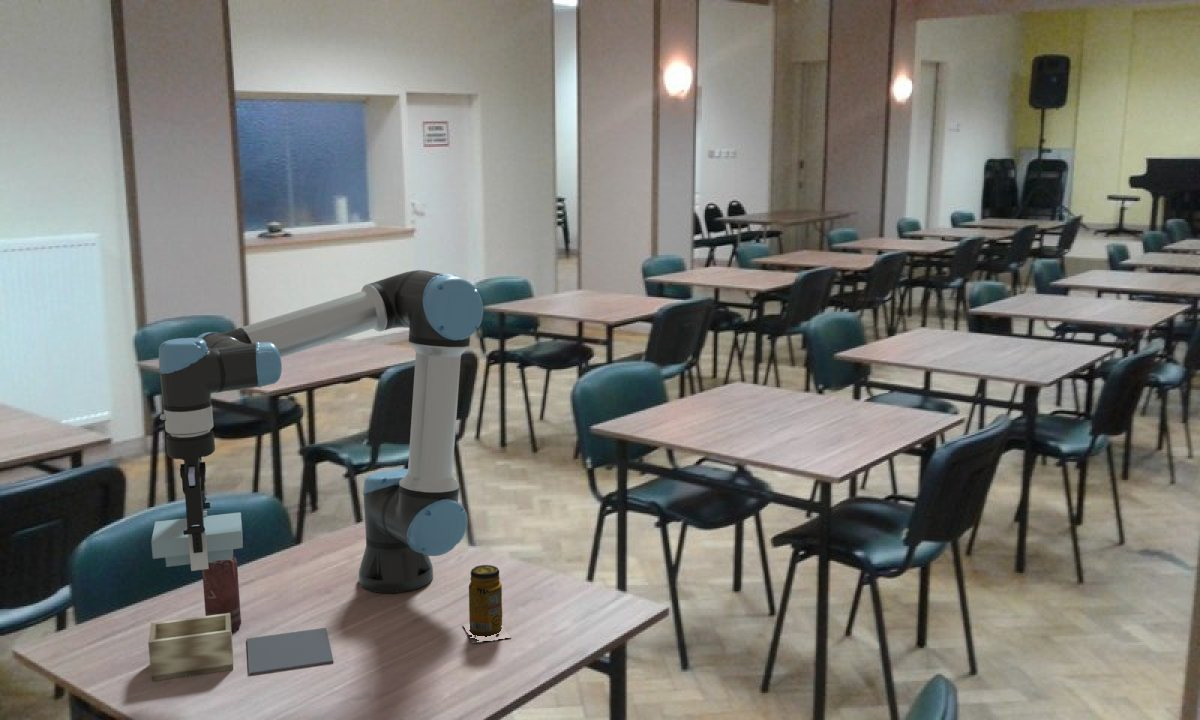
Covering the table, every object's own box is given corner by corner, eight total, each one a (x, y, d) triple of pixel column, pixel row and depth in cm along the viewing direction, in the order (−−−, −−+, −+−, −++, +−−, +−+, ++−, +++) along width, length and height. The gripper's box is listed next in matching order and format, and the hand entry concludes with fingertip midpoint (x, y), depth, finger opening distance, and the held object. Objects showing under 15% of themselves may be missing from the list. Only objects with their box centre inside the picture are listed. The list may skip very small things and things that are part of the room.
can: (231, 636, 198) (226, 564, 196) (200, 633, 200) (194, 561, 197) (248, 623, 204) (244, 552, 202) (218, 620, 205) (213, 550, 203)
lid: (243, 541, 191) (240, 512, 190) (243, 562, 182) (241, 530, 181) (158, 552, 187) (155, 521, 186) (154, 573, 178) (151, 541, 177)
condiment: (499, 620, 205) (498, 560, 203) (511, 639, 198) (510, 576, 195) (461, 626, 203) (460, 565, 201) (472, 645, 195) (470, 582, 193)
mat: (326, 629, 201) (326, 627, 201) (333, 662, 188) (333, 660, 188) (247, 640, 197) (246, 638, 197) (249, 675, 184) (248, 672, 184)
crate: (232, 649, 193) (230, 612, 192) (233, 669, 186) (230, 631, 184) (154, 660, 189) (151, 623, 188) (151, 681, 182) (148, 642, 180)
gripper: (169, 417, 190) (180, 538, 194) (161, 451, 169) (174, 585, 173) (214, 414, 192) (224, 533, 196) (212, 446, 171) (223, 579, 175)
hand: (200, 557), depth 185 cm, fingers closed on lid, 10 cm apart
